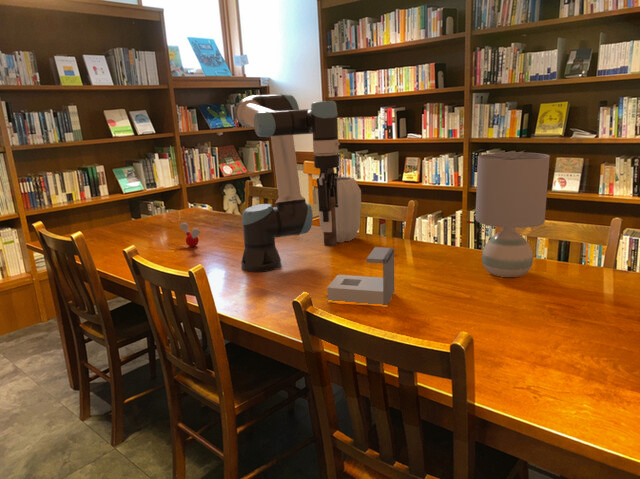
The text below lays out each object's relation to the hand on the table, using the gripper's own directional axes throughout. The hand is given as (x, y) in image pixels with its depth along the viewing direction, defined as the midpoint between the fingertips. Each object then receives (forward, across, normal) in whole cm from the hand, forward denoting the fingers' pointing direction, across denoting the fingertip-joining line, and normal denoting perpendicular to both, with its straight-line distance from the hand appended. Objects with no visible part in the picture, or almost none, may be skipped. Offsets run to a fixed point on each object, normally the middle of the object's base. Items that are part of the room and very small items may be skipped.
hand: (329, 229), depth 155 cm
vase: (+20, +65, +17) cm, 70 cm away
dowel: (+5, 0, 0) cm, 5 cm away
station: (+22, -1, -9) cm, 24 cm away
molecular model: (+20, +41, +79) cm, 92 cm away
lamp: (+22, +31, -53) cm, 65 cm away
